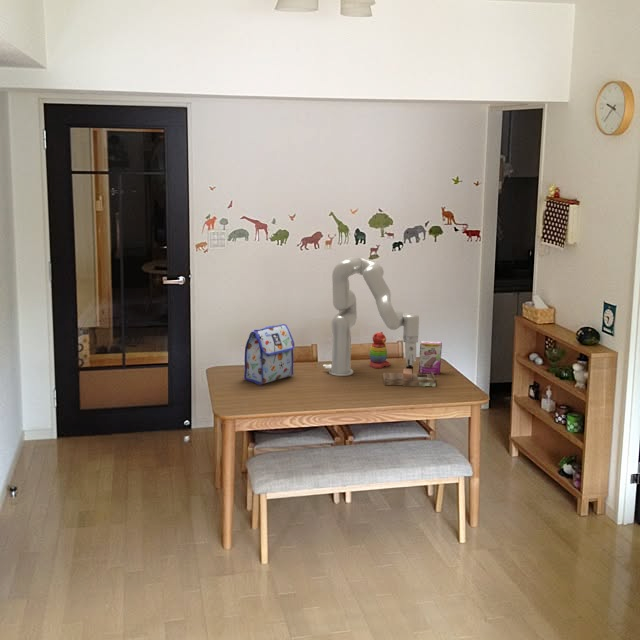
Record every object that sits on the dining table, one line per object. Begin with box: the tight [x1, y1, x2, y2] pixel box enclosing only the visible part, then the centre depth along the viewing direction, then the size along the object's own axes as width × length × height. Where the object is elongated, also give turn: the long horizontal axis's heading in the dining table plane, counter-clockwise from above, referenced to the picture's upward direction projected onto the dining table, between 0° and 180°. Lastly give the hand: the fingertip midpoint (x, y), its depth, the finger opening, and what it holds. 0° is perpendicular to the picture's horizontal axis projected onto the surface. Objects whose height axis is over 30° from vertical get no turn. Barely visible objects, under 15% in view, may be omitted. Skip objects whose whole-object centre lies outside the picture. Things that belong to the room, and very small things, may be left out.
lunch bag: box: [243, 323, 295, 386], centre depth 424 cm, size 23×17×27 cm
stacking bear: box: [368, 331, 391, 369], centre depth 452 cm, size 11×10×18 cm
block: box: [402, 368, 412, 379], centre depth 423 cm, size 4×4×4 cm
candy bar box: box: [418, 340, 443, 375], centre depth 440 cm, size 11×5×16 cm, turn 84°
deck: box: [382, 371, 437, 388], centre depth 426 cm, size 25×15×4 cm, turn 89°
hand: (409, 373), depth 427 cm, fingers closed
